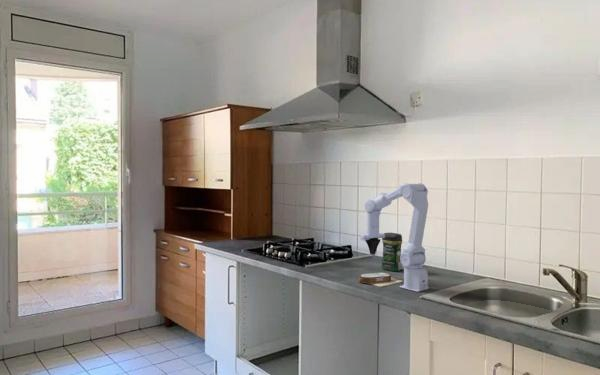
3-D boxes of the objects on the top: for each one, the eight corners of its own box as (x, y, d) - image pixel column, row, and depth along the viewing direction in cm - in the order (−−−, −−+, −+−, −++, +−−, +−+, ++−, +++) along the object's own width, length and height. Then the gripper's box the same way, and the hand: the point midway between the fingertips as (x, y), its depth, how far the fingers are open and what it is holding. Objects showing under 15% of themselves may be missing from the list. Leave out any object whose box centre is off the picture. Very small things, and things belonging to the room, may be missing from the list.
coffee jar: (379, 269, 219) (379, 232, 219) (388, 266, 225) (388, 231, 224) (395, 272, 212) (395, 234, 212) (404, 270, 218) (404, 233, 217)
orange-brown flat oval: (355, 279, 196) (364, 285, 188) (355, 272, 196) (364, 278, 188) (385, 277, 201) (394, 282, 193) (385, 270, 200) (395, 275, 193)
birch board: (403, 281, 194) (403, 280, 194) (381, 287, 185) (381, 286, 185) (386, 277, 202) (386, 276, 202) (364, 282, 192) (364, 281, 192)
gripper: (376, 223, 210) (376, 251, 211) (355, 225, 201) (355, 254, 202) (388, 225, 205) (387, 253, 205) (367, 227, 196) (367, 257, 196)
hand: (372, 254), depth 203 cm, fingers closed
